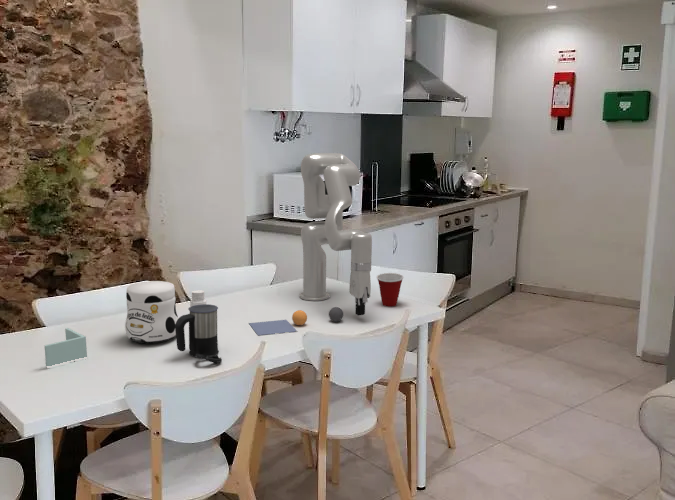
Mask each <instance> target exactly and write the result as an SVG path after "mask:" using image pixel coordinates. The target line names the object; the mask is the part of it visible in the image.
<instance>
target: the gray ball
mask: <svg viewBox="0 0 675 500" xmlns="http://www.w3.org/2000/svg"><path fill="white" fill-rule="evenodd" d="M328 317H329V319H330V321H332V322H334V323H337V322H341V320H342V319H343V318H344V311H343V310H342V308H340V307H338V306H334V307H332V308H331V309H329V311H328Z"/></svg>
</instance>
